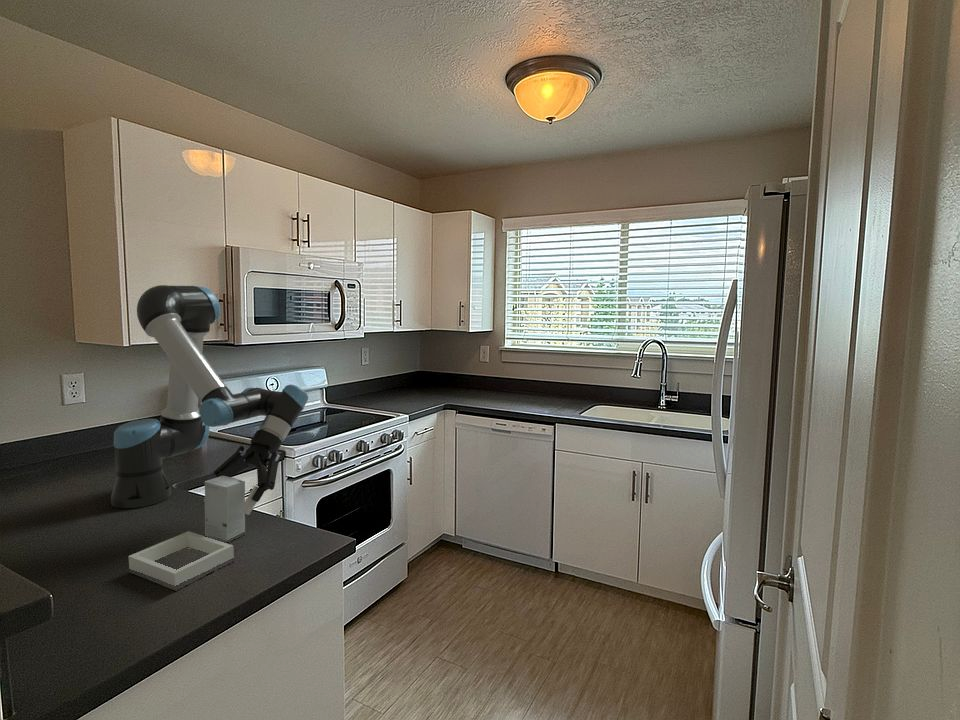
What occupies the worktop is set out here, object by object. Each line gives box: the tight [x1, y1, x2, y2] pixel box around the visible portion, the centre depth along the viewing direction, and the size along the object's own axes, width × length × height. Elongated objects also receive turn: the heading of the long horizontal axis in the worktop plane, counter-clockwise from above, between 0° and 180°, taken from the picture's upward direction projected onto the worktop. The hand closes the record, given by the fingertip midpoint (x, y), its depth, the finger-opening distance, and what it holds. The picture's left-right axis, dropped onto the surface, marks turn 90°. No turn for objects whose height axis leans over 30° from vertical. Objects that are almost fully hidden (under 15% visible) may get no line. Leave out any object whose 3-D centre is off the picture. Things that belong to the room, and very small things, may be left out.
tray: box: [128, 530, 235, 586], centre depth 118 cm, size 16×14×4 cm
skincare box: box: [204, 475, 246, 541], centre depth 133 cm, size 8×6×15 cm
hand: (225, 507), depth 132 cm, fingers open, 13 cm apart
